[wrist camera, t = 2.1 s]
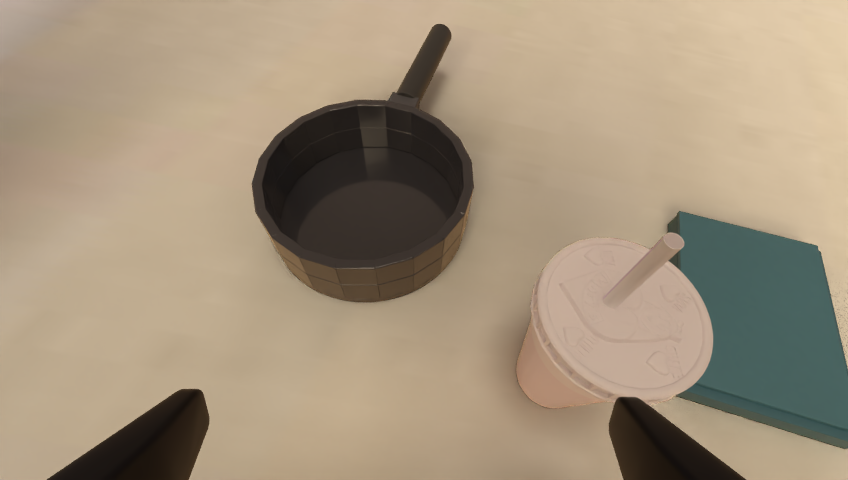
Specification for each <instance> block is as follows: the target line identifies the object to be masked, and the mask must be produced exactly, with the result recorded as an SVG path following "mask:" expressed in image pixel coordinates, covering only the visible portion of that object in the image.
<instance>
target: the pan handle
mask: <svg viewBox="0 0 848 480" xmlns="http://www.w3.org/2000/svg"><path fill="white" fill-rule="evenodd" d="M450 40H451V32H450V30H449V28H448V27H447V26H445V25H443V24H436V25H434V26H433V27H432V29H431V31H430V32H429V34H428V36H427V38H426V40H425V42H424V43H423V45H422V47H421V49H420V51H419V53H418V54H417V56H416V58H415V60H414V62H413V64H412V65H411V67H410V69H409V71H408V73H407V74H406V76H405V78H404V80H403V82H402V84H401V85H400V87H399V89H398V91H397V93H395V92H393V93H392V95H391V97H390V98H389V100H388V101H391V102H395V103H400V104H404V105H408V106H412V107H415V108H418V109H419V103H420V101H421V99H422V97H423V95H424V93H425V91H426V89H427V87H428V85H429V83H430V81H431V79H432V77H433V75H434V73H435V71H436V69H437V67H438V65H439V63H440V61H441V59H442V57H443V54H444V52H445V50H446V48H447V46H448V44H449V42H450Z"/></svg>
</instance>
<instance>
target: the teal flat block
mask: <svg viewBox="0 0 848 480" xmlns="http://www.w3.org/2000/svg"><path fill="white" fill-rule="evenodd" d="M668 233H676V234H678V235H679V236H680V237H681V238H682V239H683V241H684V247H683V248H682V249H681V250H679V251H678V252H677V253H676V254H675V255H674V256H673V257H672V258H671V259H669V260H668V261H669V262H671V263H672V264H673V265H674V266H676V267H677V268H678V269H679V270H680V271H681V272H682V273H683V274H684V275H685V276H686V277H687V278H688V280H689V281H690V282H691V283H692V284H693V286H694V287H695V289H696V290H697V291H698V293H699V295H700V296H701V298H702V300H703V302H704V304H705V306H706V308H707V311H708V313H709V317H710V320H711V324H712V330H713V349H712V355H711V358H710V362H709V364H708V366H707V368H706V370H705V372H704V373H703V375H702V376H701V377H700V379H699V380H698V381H697V382H696V383H695V384H694V385H693V386H691V387H690V388H688V389H687V390H685V391H683V392H681V393H679V394H677V395H675V396H678V397H681V398H684V399H688V400H691V401H694V402H697V403H700V404H704V405H707V406H710V407H713V408H716V409H719V410H723V411H726V412H729V413H732V414H735V415H739V416H742V417H745V418H748V419H751V420H754V421H758V422H761V423H764V424H767V425H770V426H774V427H777V428H780V429H783V430H786V431H789V432H793V433H796V434H799V435H802V436H805V437H809V438H812V439H815V440H818V441H821V442H824V443H828V444H831V445H834V446H837V447H840V448H844V449H847V448H848V369H847V364H846V360H845V356H844V351H843V347H842V343H841V338H840V334H839V330H838V325H837V321H836V317H835V312H834V308H833V303H832V299H831V295H830V290H829V286H828V282H827V277H826V273H825V269H824V264H823V260H822V256H821V252H820V251H819V250H818V246H816V245H812V244H808V243H804V242H800V241H796V240H793V239H789V238H785V237H781V236H777V235H773V234H769V233H765V232H761V231H757V230H753V229H749V228H745V227H741V226H737V225H733V224H729V223H725V222H721V221H717V220H713V219H709V218H705V217H701V216H697V215H693V214H689V213H685V212H681V211H679V212H678V213H677V216H676V217H675V218H674V219H673V220H672V221H671V222H670V223H669V224H668Z"/></svg>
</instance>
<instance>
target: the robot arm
mask: <svg viewBox="0 0 848 480" xmlns="http://www.w3.org/2000/svg"><path fill="white" fill-rule="evenodd" d="M208 426H209V414H208V410H207V406H206V402H205V398H204V395H203V392H202V391H201V390H199V389H181V390H179V391H177V392H175V393H174V394H172V395H171V396H169V397H168V398H167V399H165V400H164V401H162V402H161V403H159V404H158V405H156V406H155V407H153V408H152V409H150V410H149V411H147V412H146V413H144V414H143V415H141V416H140V417H138V418H137V419H135V420H134V421H133V422H131V423H130V424H128V425H127V426H125V427H124V428H122V429H121V430H119V431H118V432H116V433H115V434H113V435H112V436H110V437H109V438H107V439H106V440H104V441H103V442H102V443H100V444H99V445H97V446H96V447H94V448H93V449H91V450H90V451H88V452H87V453H85V454H84V455H82V456H81V457H79V458H78V459H76V460H75V461H73V462H72V463H71V464H69V465H68V466H66V467H65V468H63V469H62V470H60V471H59V472H57V473H56V474H54V475H53V476H51V477H50V478H48V479H47V480H189V477H190V475H191V472H192V469H193V467H194V464H195V461H196V459H197V456H198V454H199V451H200V448H201V446H202V443H203V440H204V438H205V435H206V432H207V430H208ZM609 434H610V437H611V441H612V444H613V447H614V450H615V453H616V457H617V460H618V463H619V466H620V470H621V473H622V476H623V479H624V480H746V479H745V478H743V477H742V476H741V475H739V474H738V473H737V472H735V471H734V470H733V469H731V468H730V467H729V466H728V465H726V464H725V463H724V462H722V461H721V460H720V459H718V458H717V457H716V456H714V455H713V454H712V453H711V452H709V451H708V450H707V449H705V448H704V447H703V446H701V445H700V444H699V443H697V442H696V441H695V440H693V439H692V438H691V437H690V436H688V435H687V434H686V433H684V432H683V431H682V430H680V429H679V428H678V427H676V426H675V425H674V424H673V423H671V422H670V421H669V420H667V419H666V418H665V417H663V416H662V415H661V414H659V413H658V412H657V411H655V410H654V409H653V408H652V407H650V406H649V405H648V404H646V403H645V402H644V401H642V400H641V399H639V398H637V397H618V398H617V399H616V401H615V405H614V408H613V411H612V415H611V418H610V422H609Z"/></svg>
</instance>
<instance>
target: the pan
mask: <svg viewBox="0 0 848 480" xmlns="http://www.w3.org/2000/svg"><path fill="white" fill-rule="evenodd" d="M473 189H474V184H473V172H472V162H471V159H470V158H469V156H468V154H467V152H466V150H465V148H464V146H463V144H462V142H461V140H460V139H459V137H457V136H456V135H455V134H454V133H453V132H452V131H451V130H450V129H449V128H448V127H447V126H446V125H445V124H444V123H443V122H442V121H440V120H439V119H437V118H435V117H433V116H431V115H429V114H427V113H425V112H423V111H422V110H420V109H418V108H415V107H412V106H408V105H404V104H400V103H395V102H391V101H386V100H354V101H348V102H343V103H338V104H333V105H328V106H325V107H323V108H320V109H318V110H316V111H313V112H311V113H309V114H306V115H304V116H302V117H300V118H298V119H297V120H296V121H294V122H293V123H292V124H290V125H289V126H288V127H286V128H285V129H284V130H282V131H281V132H280V133H279V134H277V135H276V136H275V137H274V139H273V140H272V141H271V143H270V144H269V146H268V147H267V148H266V150H265V151H264V152H263V154H262V155H261V157H260V158H259V160H258V164H257V168H256V171H255V175H254V178H253V182H252V190H253V197H254V205H255V212H256V214H257V216H258V218H259V219H260V221H261V223H262V225H263V227H264V228H265V230H266V232H267V234H268V235H269V237H270V239H271V241H272V242H273V244H274V246H275V248H276V249H277V251H278V253H279V254H280V256H281V257H282V259H283V261H284V262H285V264H286V265H287V267H288V269H289V270H290V271H291V272H292V273H293V274H294V275H295V276H296V277H297V278H298V279H299V280H301V281H302V282H303V283H305V284H306V285H307V286H309V287H310V288H312V289H314V290H316V291H318V292H320V293H322V294H325V295H327V296H330V297H333V298H337V299H341V300H345V301H354V302H376V301H384V300H389V299H393V298H397V297H401V296H403V295H406V294H408V293H411V292H413V291H415V290H417V289H419V288H421V287H423V286H425V285H426V284H427V283H429V282H430V281H432V280H433V279H434V278H436V277H437V276H438V275H439V274H440V273H441V272H442V271H443V270H444V269H445V268H446V267H447V265H448V264H449V263H450V262H451V261H452V259H453V257H454V256H455V254H456V252H457V251H458V248H459V246H460V243H461V241H462V237H463V233H464V230H465V227H466V223H467V219H468V214H469V208H470V204H471V199H472V194H473Z"/></svg>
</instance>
